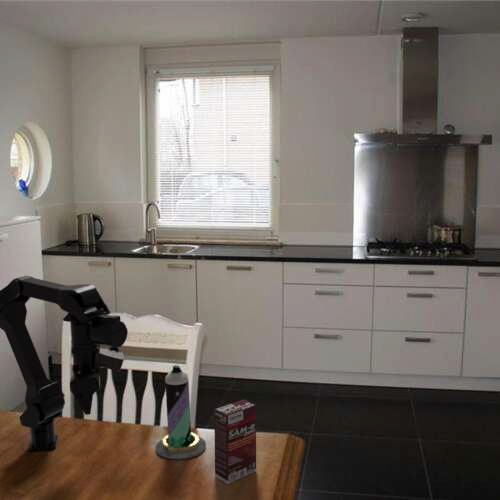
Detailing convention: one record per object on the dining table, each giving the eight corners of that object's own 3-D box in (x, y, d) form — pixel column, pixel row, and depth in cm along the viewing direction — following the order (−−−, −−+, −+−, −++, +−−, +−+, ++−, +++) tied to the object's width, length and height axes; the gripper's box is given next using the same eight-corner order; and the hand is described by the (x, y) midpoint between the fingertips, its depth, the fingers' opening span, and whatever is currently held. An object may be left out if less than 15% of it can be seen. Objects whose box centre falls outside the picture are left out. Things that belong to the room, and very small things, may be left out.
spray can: (164, 445, 152) (159, 366, 149) (181, 437, 156) (177, 360, 153) (178, 453, 149) (174, 372, 145) (196, 444, 152) (192, 365, 149)
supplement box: (228, 485, 135) (226, 415, 133) (214, 476, 139) (212, 408, 136) (258, 471, 141) (257, 404, 138) (243, 463, 145) (242, 398, 142)
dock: (154, 438, 157) (154, 431, 157) (202, 434, 159) (202, 426, 159) (157, 462, 146) (156, 454, 145) (208, 457, 148) (208, 448, 147)
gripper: (121, 350, 136) (124, 419, 138) (121, 327, 154) (124, 388, 156) (67, 355, 133) (72, 424, 136) (73, 330, 152) (77, 392, 154)
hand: (89, 406), depth 146 cm, fingers open, 9 cm apart
